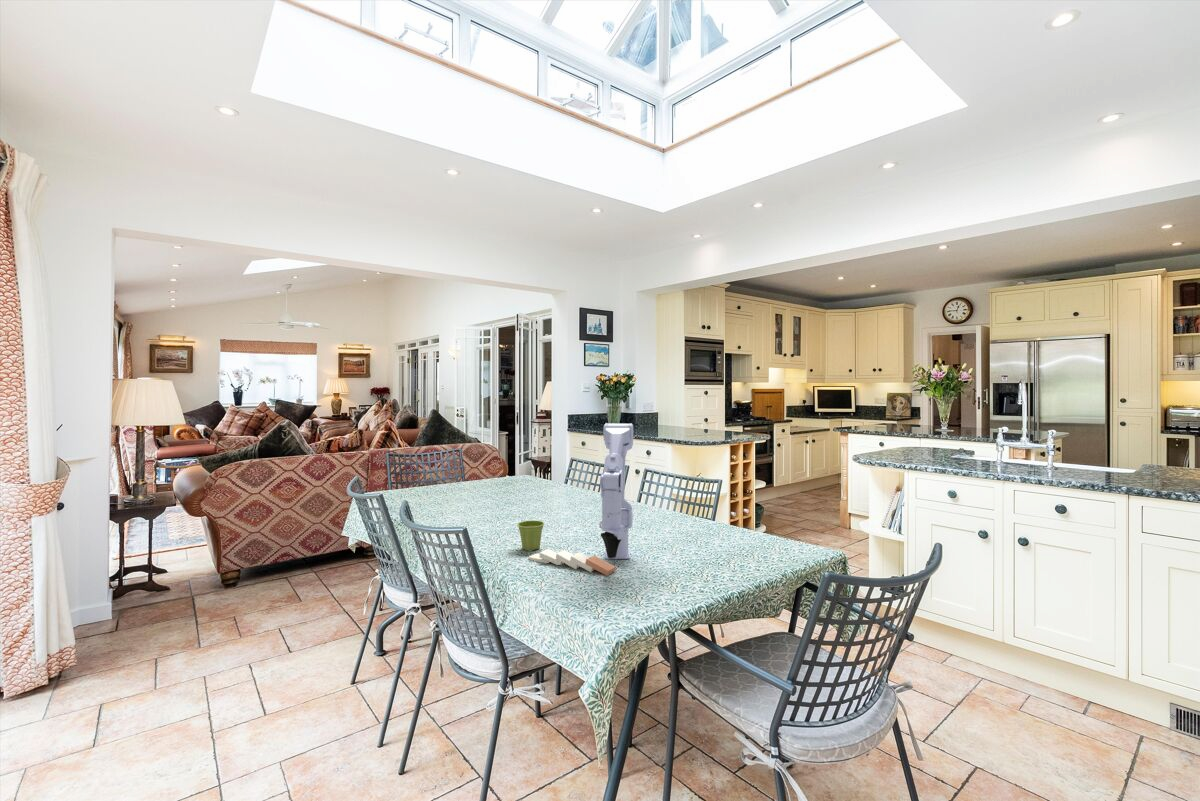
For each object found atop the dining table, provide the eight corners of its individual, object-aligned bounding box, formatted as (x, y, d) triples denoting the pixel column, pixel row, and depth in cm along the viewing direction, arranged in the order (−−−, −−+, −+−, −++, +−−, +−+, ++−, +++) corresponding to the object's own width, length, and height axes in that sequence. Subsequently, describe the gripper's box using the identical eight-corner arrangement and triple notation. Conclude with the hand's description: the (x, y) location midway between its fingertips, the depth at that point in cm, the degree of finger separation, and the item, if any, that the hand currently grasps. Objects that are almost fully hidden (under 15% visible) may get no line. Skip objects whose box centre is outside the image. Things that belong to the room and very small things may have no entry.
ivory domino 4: (591, 572, 163) (569, 560, 166) (598, 568, 167) (577, 556, 170) (592, 567, 162) (571, 556, 166) (599, 563, 166) (579, 552, 170)
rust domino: (606, 575, 160) (585, 563, 164) (614, 571, 164) (592, 559, 167) (608, 570, 159) (586, 559, 163) (615, 566, 163) (594, 555, 167)
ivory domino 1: (548, 565, 171) (528, 561, 175) (556, 562, 175) (536, 558, 179) (548, 560, 171) (528, 556, 175) (556, 557, 175) (536, 553, 179)
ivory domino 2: (560, 566, 168) (539, 557, 172) (567, 562, 172) (546, 553, 176) (560, 561, 168) (540, 552, 172) (568, 557, 172) (547, 548, 176)
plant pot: (515, 552, 183) (514, 526, 183) (520, 544, 192) (519, 520, 192) (542, 552, 183) (542, 527, 182) (546, 544, 192) (546, 520, 192)
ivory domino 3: (576, 569, 165) (555, 558, 169) (583, 565, 169) (563, 554, 173) (577, 564, 165) (556, 553, 169) (585, 560, 169) (564, 549, 173)
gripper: (634, 516, 156) (634, 562, 156) (614, 506, 169) (614, 549, 170) (612, 518, 153) (612, 565, 154) (593, 508, 167) (593, 551, 167)
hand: (611, 557), depth 161 cm, fingers closed
